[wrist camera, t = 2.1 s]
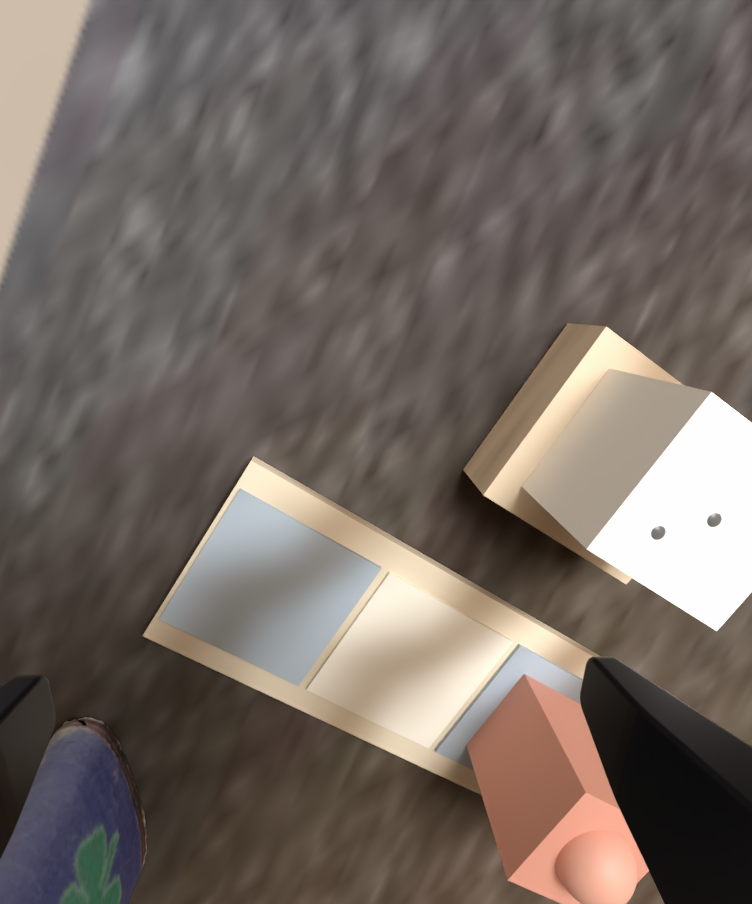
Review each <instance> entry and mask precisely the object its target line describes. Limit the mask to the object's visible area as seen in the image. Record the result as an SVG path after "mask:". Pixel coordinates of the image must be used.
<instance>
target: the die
mask: <svg viewBox="0 0 752 904" xmlns="http://www.w3.org/2000/svg"><path fill="white" fill-rule="evenodd" d="M522 487H523V488H524V489H525V490H526V491H527V492H528V493H529V494H530V495H531V496H532V497H533V498H534V499H535V500H536V501H537V502H538V503H539V504H540V505H541V506H542V507H543V508H544V509H545V510H546V511H547V512H549V513H550V514H551V515H552V516H553V517H554V518H555V519H556V520H557V521H558V522H559V523H560V524H561V525H562V526H563V527H564V528H565V529H566V530H567V531H568V532H569V533H570V534H571V535H572V536H573V537H574V538H575V539H577V540H578V541H579V542H580V543H581V544H582V545H583V546H584V547H585V548H586V549H587V550H589V551H590V552H592V553H593V554H595V555H597V556H598V557H600V558H601V559H603V560H605V561H606V562H608V563H609V564H611V565H612V566H614V567H616V568H617V569H619V570H620V571H622V572H624V573H625V574H627V575H628V576H630V577H632V578H633V579H635V580H636V581H638V582H639V583H641V584H643V585H644V586H646V587H647V588H649V589H651V590H652V591H654V592H655V593H657V594H658V595H660V596H662V597H663V598H665V599H666V600H668V601H670V602H671V603H673V604H674V605H676V606H678V607H679V608H681V609H682V610H684V611H685V612H687V613H689V614H690V615H692V616H693V617H695V618H697V619H698V620H700V621H701V622H703V623H705V624H706V625H708V626H709V627H711V628H712V629H714V630H716V631H718V629H719V628H720V627H721V626H722V625H723V624H724V623H725V622H726V620H727V619H728V618H729V617H730V616H731V615H732V614H733V613H734V611H735V610H736V609H737V608H738V607H739V606H740V605H741V603H742V602H743V601H744V600H745V599H746V598H747V597H748V596H749V594H750V593H751V592H752V423H751V422H750V421H749V420H747V419H746V418H745V417H743V416H742V415H741V414H740V413H738V412H737V411H736V410H734V409H733V408H732V407H730V406H729V405H728V404H727V403H725V402H724V401H723V400H721V399H720V398H719V397H717V396H716V395H715V394H713V393H712V392H709V391H705V390H701V389H697V388H692V387H688V386H684V385H679V384H675V383H671V382H666V381H662V380H658V379H653V378H649V377H645V376H640V375H636V374H632V373H627V372H623V371H619V370H615V369H610V368H609V370H608V371H607V372H606V374H605V375H604V376H603V378H602V379H601V380H600V382H599V383H598V385H597V386H596V387H595V389H594V390H593V391H592V393H591V394H590V395H589V397H588V398H587V399H586V401H585V402H584V403H583V405H582V406H581V407H580V409H579V410H578V411H577V413H576V414H575V415H574V417H573V418H572V419H571V421H570V422H569V423H568V425H567V426H566V427H565V429H564V430H563V432H562V433H561V434H560V436H559V437H558V438H557V440H556V441H555V442H554V444H553V445H552V446H551V448H550V449H549V450H548V452H547V453H546V454H545V456H544V457H543V458H542V460H541V461H540V462H539V464H538V465H537V466H536V468H535V469H534V470H533V472H532V473H531V474H530V476H529V477H528V478H527V480H526V481H525V483H524V484H523V485H522Z"/></svg>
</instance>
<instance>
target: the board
mask: <svg viewBox="0 0 752 904" xmlns="http://www.w3.org/2000/svg"><path fill="white" fill-rule="evenodd" d="M143 637H145V638H148V639H150V640H152V641H154V642H156V643H158V644H160V645H162V646H165V647H167V648H169V649H171V650H173V651H175V652H177V653H180V654H182V655H184V656H186V657H188V658H190V659H192V660H194V661H197V662H199V663H201V664H203V665H205V666H207V667H209V668H211V669H214V670H216V671H218V672H220V673H222V674H224V675H226V676H229V677H231V678H233V679H235V680H237V681H239V682H241V683H243V684H246V685H248V686H250V687H252V688H254V689H256V690H258V691H260V692H263V693H265V694H267V695H269V696H271V697H273V698H275V699H278V700H280V701H282V702H284V703H286V704H288V705H290V706H292V707H295V708H297V709H299V710H301V711H303V712H305V713H307V714H309V715H312V716H314V717H316V718H318V719H320V720H322V721H324V722H326V723H329V724H331V725H333V726H335V727H337V728H339V729H341V730H344V731H346V732H348V733H350V734H352V735H354V736H356V737H358V738H361V739H363V740H365V741H367V742H369V743H371V744H373V745H375V746H378V747H380V748H382V749H384V750H386V751H388V752H390V753H393V754H395V755H397V756H399V757H401V758H403V759H405V760H407V761H410V762H412V763H414V764H416V765H418V766H420V767H422V768H424V769H427V770H429V771H431V772H433V773H435V774H437V775H439V776H442V777H444V778H446V779H448V780H450V781H452V782H454V783H456V784H459V785H461V786H463V787H465V788H467V789H469V790H471V791H473V792H476V793H478V794H480V795H482V794H481V791H480V788H479V785H478V781H477V778H476V775H475V771H474V768H473V765H472V762H471V758H470V755H469V752H468V748H467V743H468V742H469V741H470V740H471V739H472V737H473V736H474V735H475V734H476V732H477V731H478V730H479V729H480V727H481V726H482V725H483V724H484V723H485V721H486V720H487V719H488V718H489V716H490V715H491V714H492V713H493V711H494V710H495V709H496V708H497V707H498V705H499V704H500V703H501V702H502V700H503V699H504V698H505V697H506V695H507V694H508V693H509V692H510V691H511V689H512V688H513V687H514V686H515V684H516V683H517V682H518V681H519V679H520V678H521V677H522V676H523V675H524V674H526V675H528V676H529V677H531V678H533V679H535V680H537V681H539V682H540V683H542V684H544V685H546V686H548V687H550V688H551V689H553V690H555V691H557V692H559V693H561V694H562V695H564V696H566V697H568V698H570V699H572V700H574V701H575V702H577V703H579V704H580V691H581V686H582V681H583V676H584V671H585V666H586V662H587V660H588V659H589V658H591V657H601V656H599V655H598V654H596V653H594V652H592V651H591V650H589V649H587V648H586V647H584V646H582V645H580V644H579V643H577V642H575V641H573V640H572V639H570V638H568V637H566V636H565V635H563V634H561V633H560V632H558V631H556V630H554V629H553V628H551V627H549V626H547V625H546V624H544V623H542V622H540V621H539V620H537V619H535V618H533V617H532V616H530V615H528V614H527V613H525V612H523V611H521V610H520V609H518V608H516V607H514V606H513V605H511V604H509V603H507V602H506V601H504V600H502V599H501V598H499V597H497V596H495V595H494V594H492V593H490V592H488V591H487V590H485V589H483V588H481V587H480V586H478V585H476V584H475V583H473V582H471V581H469V580H468V579H466V578H464V577H462V576H461V575H459V574H457V573H455V572H454V571H452V570H450V569H448V568H447V567H445V566H443V565H442V564H440V563H438V562H436V561H435V560H433V559H431V558H429V557H428V556H426V555H424V554H422V553H421V552H419V551H417V550H416V549H414V548H412V547H410V546H409V545H407V544H405V543H403V542H402V541H400V540H398V539H396V538H395V537H393V536H391V535H390V534H388V533H386V532H384V531H383V530H381V529H379V528H377V527H376V526H374V525H372V524H370V523H369V522H367V521H365V520H363V519H362V518H360V517H358V516H357V515H355V514H353V513H351V512H350V511H348V510H346V509H344V508H343V507H341V506H339V505H337V504H336V503H334V502H332V501H331V500H329V499H327V498H325V497H324V496H322V495H320V494H318V493H317V492H315V491H313V490H311V489H310V488H308V487H306V486H304V485H303V484H301V483H299V482H298V481H296V480H294V479H292V478H291V477H289V476H287V475H285V474H284V473H282V472H280V471H278V470H277V469H275V468H273V467H272V466H270V465H268V464H266V463H265V462H263V461H261V460H259V459H258V458H256V457H254V456H253V458H252V459H251V461H250V463H249V464H248V466H247V467H246V469H245V471H244V472H243V474H242V476H241V477H240V479H239V480H238V482H237V484H236V485H235V487H234V488H233V490H232V492H231V493H230V495H229V497H228V498H227V500H226V501H225V503H224V505H223V506H222V508H221V509H220V511H219V513H218V514H217V516H216V518H215V519H214V521H213V522H212V524H211V526H210V527H209V529H208V530H207V532H206V534H205V535H204V537H203V539H202V540H201V542H200V543H199V545H198V547H197V548H196V550H195V551H194V553H193V555H192V556H191V558H190V560H189V561H188V563H187V564H186V566H185V568H184V569H183V571H182V572H181V574H180V576H179V577H178V579H177V581H176V582H175V584H174V585H173V587H172V589H171V590H170V592H169V593H168V595H167V597H166V598H165V600H164V602H163V603H162V605H161V606H160V608H159V610H158V611H157V613H156V614H155V616H154V618H153V619H152V621H151V623H150V624H149V626H148V627H147V629H146V631H145V633H144V634H143Z"/></svg>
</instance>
